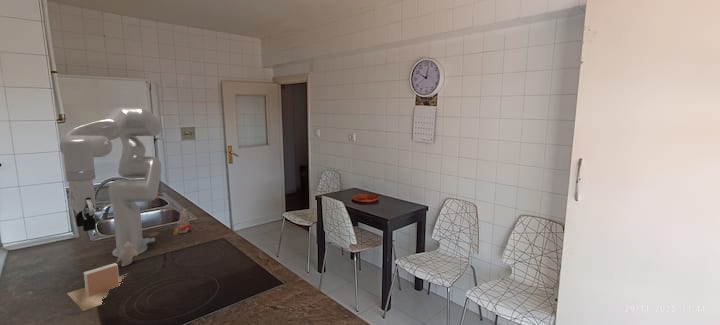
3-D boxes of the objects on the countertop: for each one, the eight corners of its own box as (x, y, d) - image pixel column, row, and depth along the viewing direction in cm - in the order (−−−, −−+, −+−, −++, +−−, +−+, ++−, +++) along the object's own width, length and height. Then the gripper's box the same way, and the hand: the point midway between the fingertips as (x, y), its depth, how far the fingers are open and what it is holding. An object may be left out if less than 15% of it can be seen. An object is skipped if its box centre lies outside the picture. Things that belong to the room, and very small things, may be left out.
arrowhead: (119, 270, 133) (117, 245, 131) (115, 269, 134) (113, 244, 132) (140, 262, 140) (138, 239, 138) (136, 261, 141) (134, 237, 139)
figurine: (182, 228, 179) (184, 206, 177) (193, 231, 177) (195, 209, 175) (168, 233, 170) (170, 210, 168) (180, 237, 168) (182, 213, 167)
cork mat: (128, 274, 130) (128, 273, 130) (147, 288, 121) (147, 287, 121) (67, 294, 116) (67, 293, 116) (83, 312, 106) (83, 310, 106)
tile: (117, 284, 122) (115, 262, 121) (119, 286, 121) (117, 264, 119) (86, 295, 115) (83, 272, 114) (88, 297, 114) (85, 274, 112)
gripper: (58, 173, 117) (64, 225, 120) (75, 181, 107) (81, 237, 110) (85, 170, 123) (90, 219, 126) (104, 177, 113) (109, 230, 116)
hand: (86, 227), depth 118 cm, fingers open, 5 cm apart
